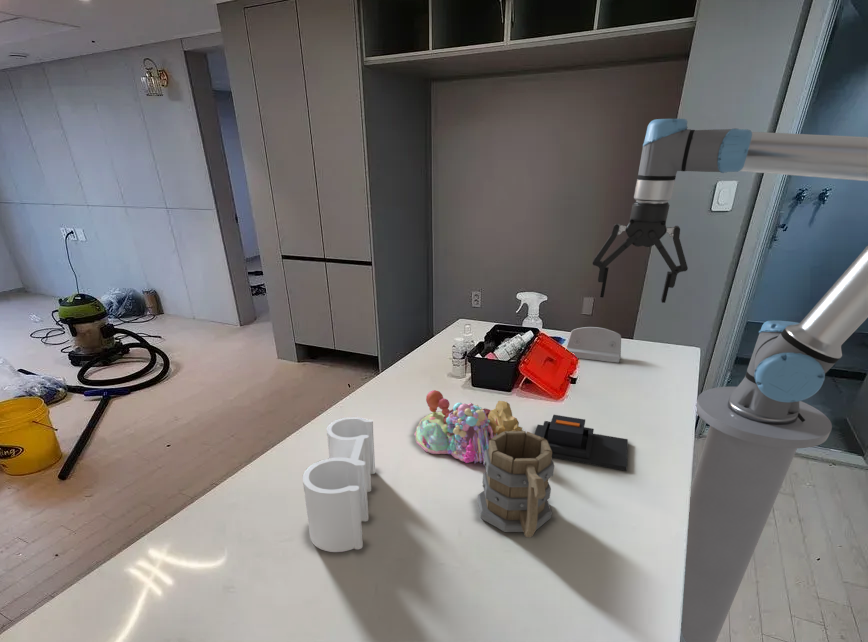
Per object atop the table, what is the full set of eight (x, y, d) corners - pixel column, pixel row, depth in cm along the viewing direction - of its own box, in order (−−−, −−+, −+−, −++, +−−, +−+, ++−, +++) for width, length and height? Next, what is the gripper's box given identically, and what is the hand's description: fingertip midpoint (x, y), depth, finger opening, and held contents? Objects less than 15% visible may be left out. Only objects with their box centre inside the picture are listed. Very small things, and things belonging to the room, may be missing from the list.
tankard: (475, 489, 99) (479, 422, 92) (539, 489, 99) (549, 421, 92) (488, 563, 82) (495, 487, 74) (567, 563, 82) (581, 487, 74)
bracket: (333, 467, 106) (328, 416, 100) (379, 468, 106) (377, 417, 100) (303, 551, 84) (294, 492, 78) (361, 553, 84) (357, 494, 78)
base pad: (626, 442, 114) (629, 433, 113) (626, 471, 105) (628, 460, 103) (537, 427, 121) (538, 418, 119) (528, 453, 111) (529, 443, 109)
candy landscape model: (513, 412, 127) (516, 379, 123) (534, 464, 107) (539, 426, 102) (413, 414, 127) (413, 380, 122) (415, 467, 106) (415, 428, 102)
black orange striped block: (582, 436, 115) (585, 418, 112) (579, 452, 109) (583, 433, 107) (550, 431, 117) (553, 413, 115) (546, 446, 111) (549, 427, 109)
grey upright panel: (563, 356, 160) (569, 324, 159) (564, 356, 165) (569, 324, 163) (620, 362, 155) (625, 329, 154) (619, 362, 160) (625, 330, 158)
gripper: (713, 201, 110) (688, 299, 120) (592, 198, 117) (579, 290, 128) (718, 205, 103) (691, 307, 114) (590, 201, 111) (576, 297, 121)
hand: (632, 298), depth 121 cm, fingers open, 13 cm apart
